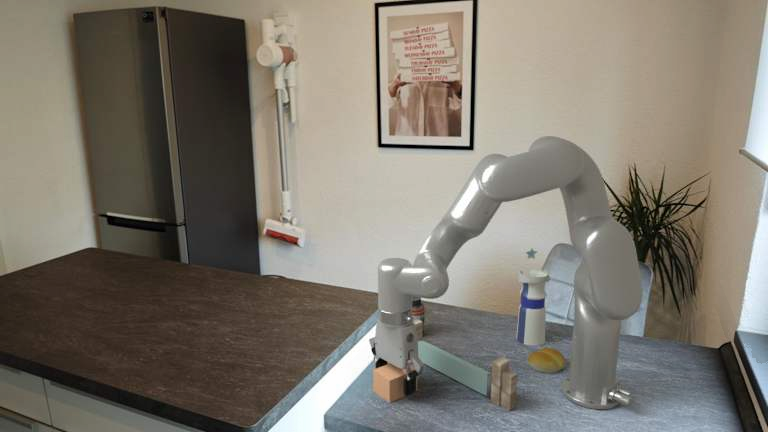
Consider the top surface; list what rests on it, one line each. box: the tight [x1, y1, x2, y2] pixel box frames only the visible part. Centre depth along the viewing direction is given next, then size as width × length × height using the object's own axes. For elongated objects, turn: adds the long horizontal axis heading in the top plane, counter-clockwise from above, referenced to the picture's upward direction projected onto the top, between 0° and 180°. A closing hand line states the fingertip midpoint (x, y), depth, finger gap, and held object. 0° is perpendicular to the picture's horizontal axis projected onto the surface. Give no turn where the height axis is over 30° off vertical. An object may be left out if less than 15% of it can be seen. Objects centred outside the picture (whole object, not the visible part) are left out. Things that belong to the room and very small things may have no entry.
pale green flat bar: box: [418, 339, 492, 399], centre depth 126 cm, size 23×2×5 cm, turn 41°
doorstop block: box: [372, 362, 418, 404], centre depth 122 cm, size 6×8×6 cm
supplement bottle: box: [412, 296, 425, 337], centre depth 149 cm, size 6×6×11 cm
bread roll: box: [527, 347, 567, 374], centre depth 133 cm, size 8×9×4 cm
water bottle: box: [515, 247, 551, 347], centre depth 144 cm, size 8×9×25 cm
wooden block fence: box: [413, 319, 518, 412], centre depth 126 cm, size 34×3×10 cm, turn 41°
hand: (395, 384), depth 122 cm, fingers open, 9 cm apart
